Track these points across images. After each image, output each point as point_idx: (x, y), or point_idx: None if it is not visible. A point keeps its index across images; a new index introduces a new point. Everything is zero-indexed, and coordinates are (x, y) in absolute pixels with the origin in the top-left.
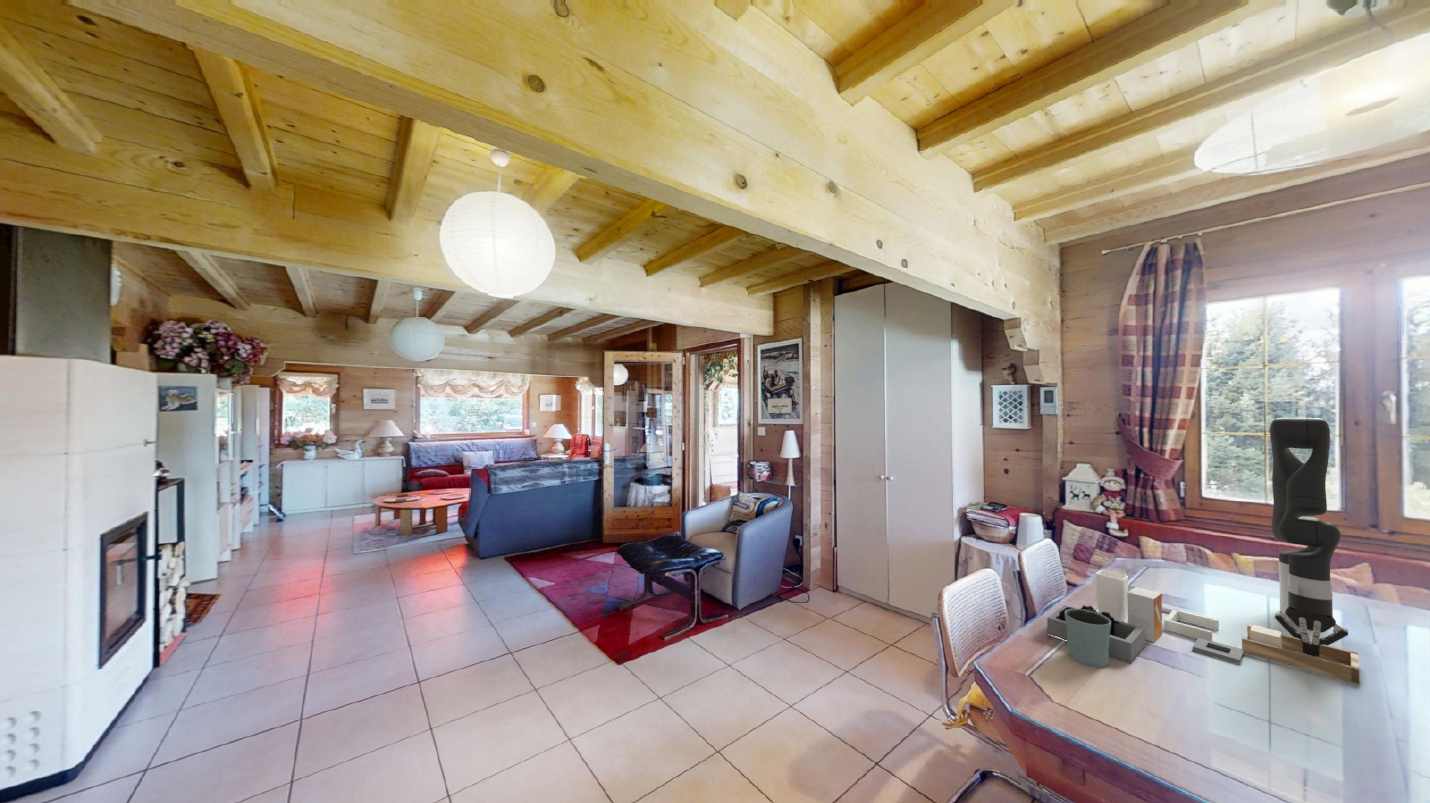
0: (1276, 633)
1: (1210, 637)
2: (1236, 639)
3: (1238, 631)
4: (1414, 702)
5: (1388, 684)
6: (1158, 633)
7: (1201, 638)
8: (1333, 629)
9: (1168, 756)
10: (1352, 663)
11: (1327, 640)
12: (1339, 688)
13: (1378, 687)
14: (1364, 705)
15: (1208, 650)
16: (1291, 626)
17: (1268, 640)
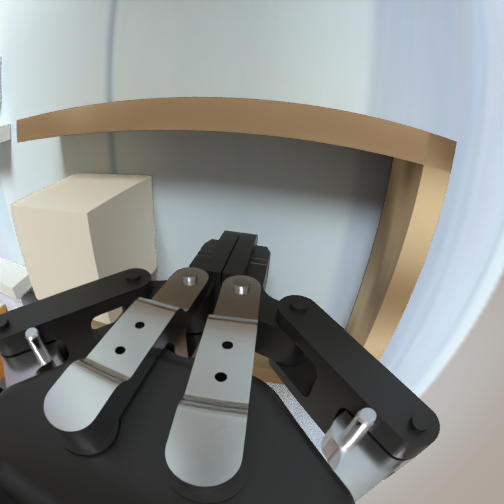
0: (84, 269)
1: (27, 289)
2: (46, 185)
3: (40, 73)
4: (434, 371)
5: (445, 288)
6: None
7: (26, 304)
8: (326, 454)
9: None
10: (367, 345)
11: (290, 375)
12: (292, 401)
13: (400, 337)
14: (315, 436)
15: None
16: (93, 316)
17: None
